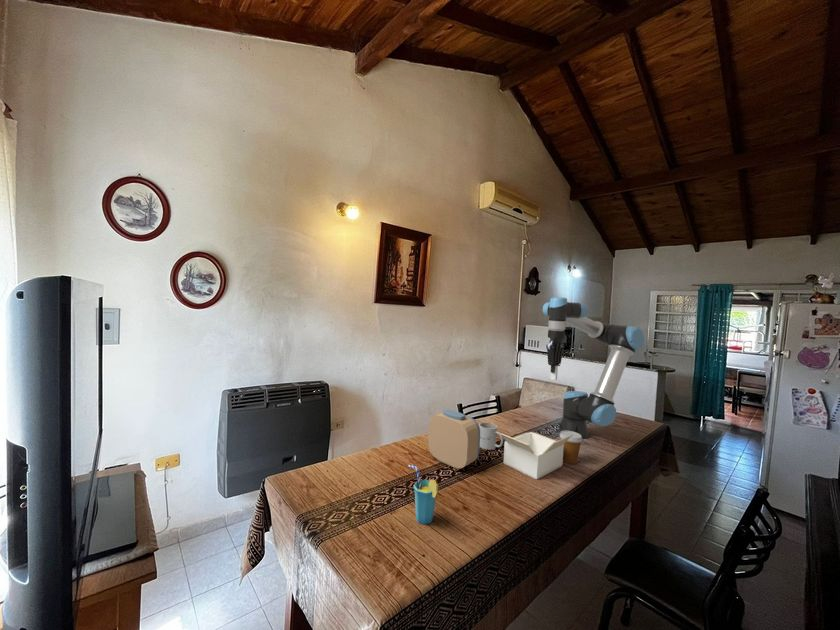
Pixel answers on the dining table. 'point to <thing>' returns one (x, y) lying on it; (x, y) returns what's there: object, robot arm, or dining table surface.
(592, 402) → the robot arm
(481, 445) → the mug
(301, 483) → the dining table surface
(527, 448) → the short flap
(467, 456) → the alarm clock
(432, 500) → the cup
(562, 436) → the disposable coffee cup
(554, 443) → the long flap
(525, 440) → the carton
